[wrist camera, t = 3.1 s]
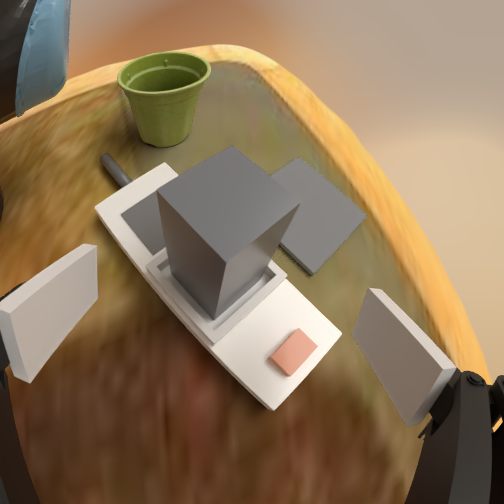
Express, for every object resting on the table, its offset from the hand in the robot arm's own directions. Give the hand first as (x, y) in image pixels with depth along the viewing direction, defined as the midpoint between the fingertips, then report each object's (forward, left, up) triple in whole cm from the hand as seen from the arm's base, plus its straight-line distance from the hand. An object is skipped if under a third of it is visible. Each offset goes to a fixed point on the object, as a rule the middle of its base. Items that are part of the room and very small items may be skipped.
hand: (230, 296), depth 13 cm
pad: (-3, +15, -10) cm, 18 cm away
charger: (-3, +3, -8) cm, 9 cm away
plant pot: (-21, +11, -10) cm, 26 cm away
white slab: (-7, +3, -10) cm, 13 cm away
